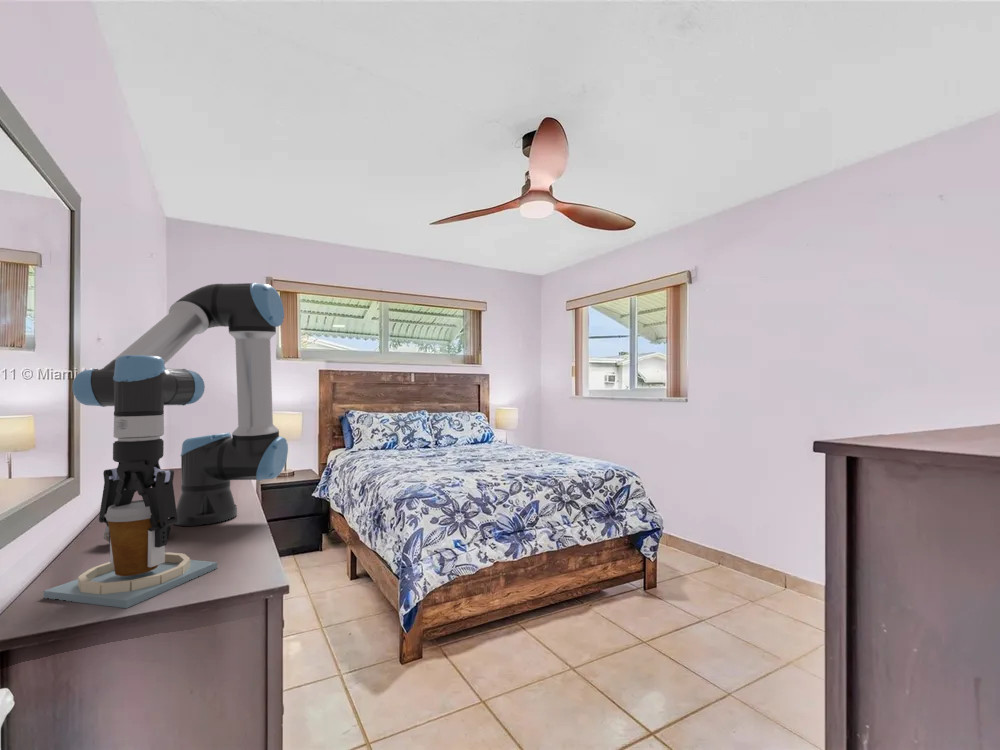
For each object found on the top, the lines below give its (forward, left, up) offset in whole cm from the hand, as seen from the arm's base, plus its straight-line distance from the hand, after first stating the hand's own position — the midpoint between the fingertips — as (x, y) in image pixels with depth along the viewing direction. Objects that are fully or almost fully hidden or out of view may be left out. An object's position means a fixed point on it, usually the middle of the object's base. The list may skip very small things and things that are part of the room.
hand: (137, 562), depth 89 cm
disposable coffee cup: (0, 0, -1) cm, 1 cm away
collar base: (0, 0, -3) cm, 3 cm away
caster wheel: (-21, -24, -4) cm, 32 cm away
